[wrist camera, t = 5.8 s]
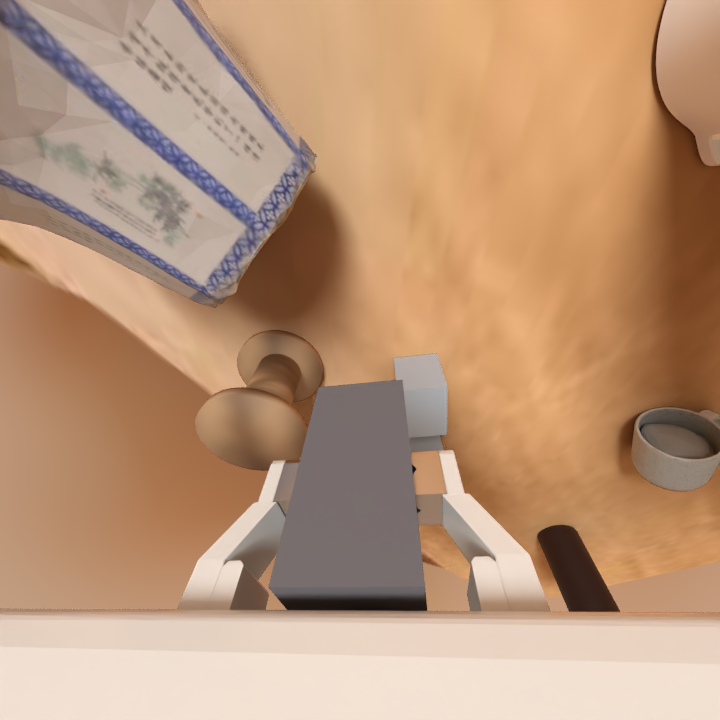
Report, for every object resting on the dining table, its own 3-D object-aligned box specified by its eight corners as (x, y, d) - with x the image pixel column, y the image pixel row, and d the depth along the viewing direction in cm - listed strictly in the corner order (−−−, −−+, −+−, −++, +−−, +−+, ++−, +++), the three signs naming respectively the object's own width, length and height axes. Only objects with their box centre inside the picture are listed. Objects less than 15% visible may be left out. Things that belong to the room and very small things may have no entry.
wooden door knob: (311, 325, 33) (288, 389, 24) (330, 393, 39) (317, 467, 30) (227, 335, 34) (174, 401, 25) (257, 400, 40) (222, 473, 31)
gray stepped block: (437, 353, 35) (447, 386, 30) (438, 458, 45) (446, 495, 40) (393, 358, 35) (396, 391, 30) (404, 460, 46) (408, 497, 41)
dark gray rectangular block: (402, 379, 12) (424, 586, 6) (408, 437, 14) (429, 635, 8) (318, 387, 13) (268, 586, 7) (335, 442, 14) (307, 633, 9)
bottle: (584, 528, 55) (675, 689, 38) (559, 545, 59) (632, 698, 42) (553, 521, 54) (632, 683, 37) (529, 538, 58) (591, 692, 41)
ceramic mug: (617, 453, 43) (660, 505, 37) (619, 415, 39) (668, 466, 33) (705, 434, 41) (767, 486, 34) (717, 391, 36) (791, 441, 30)
